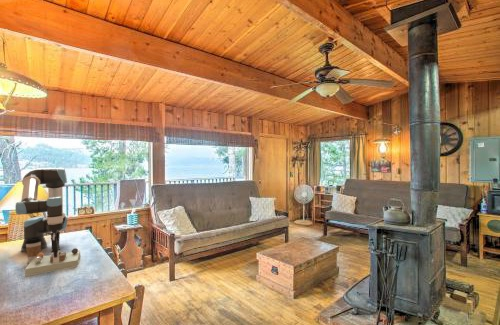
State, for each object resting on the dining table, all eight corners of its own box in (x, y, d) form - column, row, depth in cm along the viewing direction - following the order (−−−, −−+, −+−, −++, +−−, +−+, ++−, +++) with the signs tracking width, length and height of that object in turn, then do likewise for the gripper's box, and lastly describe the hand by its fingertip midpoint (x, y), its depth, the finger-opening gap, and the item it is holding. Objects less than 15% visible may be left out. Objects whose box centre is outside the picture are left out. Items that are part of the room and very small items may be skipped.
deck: (33, 264, 166) (33, 257, 166) (80, 256, 178) (80, 250, 178) (25, 276, 149) (24, 269, 149) (77, 266, 161) (77, 260, 161)
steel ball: (35, 262, 159) (35, 256, 159) (42, 261, 160) (42, 255, 160) (33, 264, 156) (33, 258, 156) (41, 263, 157) (41, 257, 157)
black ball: (72, 253, 173) (71, 248, 173) (78, 252, 175) (78, 247, 175) (71, 254, 170) (71, 249, 170) (77, 253, 172) (77, 248, 172)
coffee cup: (32, 263, 168) (32, 240, 168) (22, 262, 169) (21, 239, 169) (45, 258, 176) (44, 236, 176) (35, 257, 178) (34, 236, 178)
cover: (52, 258, 164) (52, 252, 164) (65, 256, 168) (65, 250, 168) (50, 262, 158) (50, 255, 158) (64, 259, 161) (64, 253, 161)
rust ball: (37, 257, 166) (37, 252, 166) (44, 256, 168) (44, 251, 168) (36, 259, 163) (36, 254, 163) (43, 258, 165) (43, 253, 165)
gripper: (49, 221, 160) (50, 259, 160) (44, 226, 148) (46, 267, 149) (64, 220, 163) (65, 257, 164) (61, 224, 152) (62, 264, 152)
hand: (56, 262), depth 156 cm, fingers closed
